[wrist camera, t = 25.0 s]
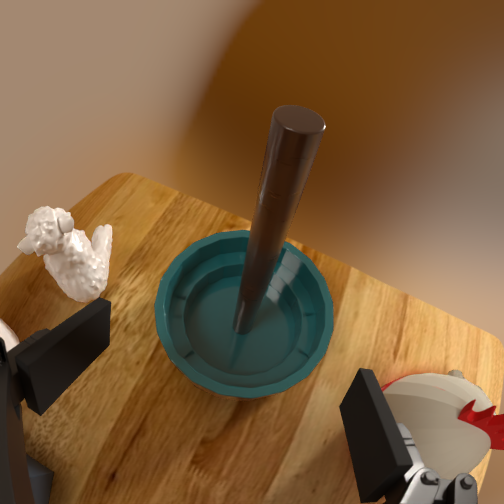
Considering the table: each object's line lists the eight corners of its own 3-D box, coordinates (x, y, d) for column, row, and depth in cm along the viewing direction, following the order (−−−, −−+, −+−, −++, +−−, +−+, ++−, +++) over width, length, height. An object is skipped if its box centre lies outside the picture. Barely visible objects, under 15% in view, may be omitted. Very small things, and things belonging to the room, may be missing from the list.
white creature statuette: (112, 228, 32) (83, 152, 22) (137, 286, 29) (102, 215, 19) (47, 261, 29) (-1, 196, 19) (63, 323, 26) (0, 270, 15)
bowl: (137, 325, 27) (119, 303, 22) (236, 239, 34) (241, 205, 28) (246, 431, 23) (254, 436, 18) (338, 322, 30) (363, 301, 24)
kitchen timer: (406, 510, 18) (506, 529, 5) (324, 456, 22) (421, 477, 9) (465, 414, 24) (561, 386, 12) (399, 353, 28) (497, 298, 16)
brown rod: (228, 326, 27) (261, 113, 9) (241, 313, 28) (293, 99, 10) (242, 338, 27) (307, 139, 8) (255, 325, 28) (335, 122, 9)
